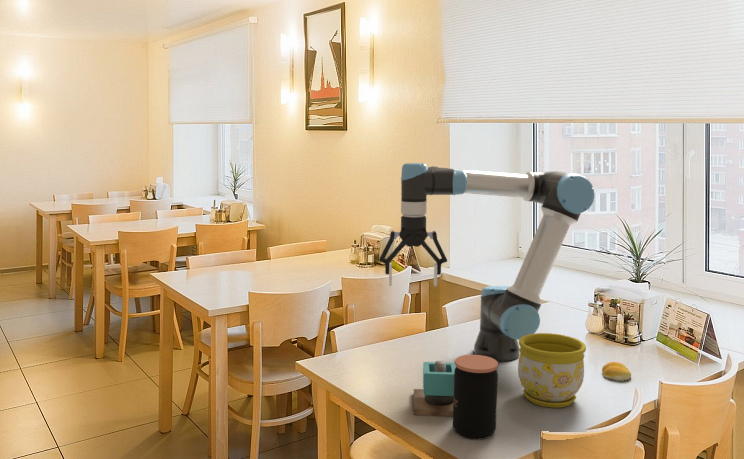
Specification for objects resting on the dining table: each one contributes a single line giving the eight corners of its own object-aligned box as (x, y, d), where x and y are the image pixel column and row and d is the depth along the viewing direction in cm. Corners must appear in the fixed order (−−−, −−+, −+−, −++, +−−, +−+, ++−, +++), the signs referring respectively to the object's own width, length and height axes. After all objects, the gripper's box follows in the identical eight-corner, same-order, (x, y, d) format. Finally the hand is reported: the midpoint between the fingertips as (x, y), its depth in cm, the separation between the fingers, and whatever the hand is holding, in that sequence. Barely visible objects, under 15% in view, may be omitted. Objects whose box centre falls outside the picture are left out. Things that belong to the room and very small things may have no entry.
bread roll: (605, 381, 200) (605, 368, 199) (600, 370, 208) (601, 358, 208) (633, 383, 198) (634, 370, 198) (627, 372, 207) (628, 360, 206)
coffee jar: (464, 417, 172) (466, 351, 170) (502, 428, 166) (505, 360, 164) (444, 432, 164) (446, 363, 161) (484, 444, 158) (487, 372, 155)
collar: (455, 383, 184) (456, 362, 183) (457, 396, 175) (458, 374, 174) (422, 382, 184) (423, 361, 183) (423, 395, 175) (424, 373, 175)
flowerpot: (539, 381, 198) (541, 328, 196) (594, 399, 185) (598, 343, 183) (503, 397, 186) (505, 341, 183) (560, 418, 173) (563, 358, 170)
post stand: (463, 395, 187) (464, 354, 185) (467, 416, 173) (468, 373, 171) (413, 393, 188) (414, 353, 186) (413, 414, 174) (414, 371, 172)
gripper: (454, 213, 200) (453, 282, 203) (371, 213, 200) (371, 281, 203) (457, 217, 192) (455, 288, 195) (371, 216, 193) (371, 287, 196)
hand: (412, 285), depth 199 cm, fingers open, 13 cm apart
